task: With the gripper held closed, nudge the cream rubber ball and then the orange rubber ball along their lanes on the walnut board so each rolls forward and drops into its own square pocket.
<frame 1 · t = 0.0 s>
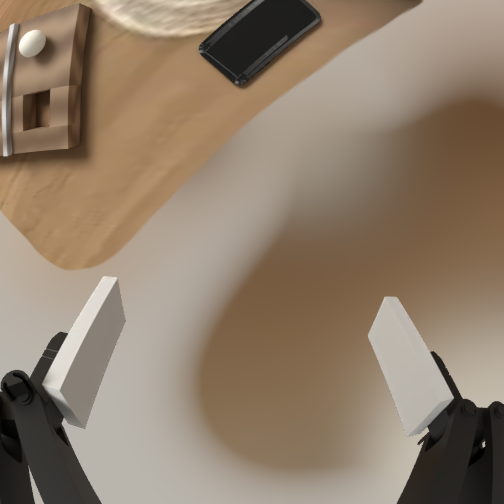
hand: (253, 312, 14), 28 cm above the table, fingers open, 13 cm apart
putting board: (23, 86, 29), on the table
phone: (260, 32, 30), on the table
cream ball: (32, 43, 22), point 5 cm above the table, touching putting board
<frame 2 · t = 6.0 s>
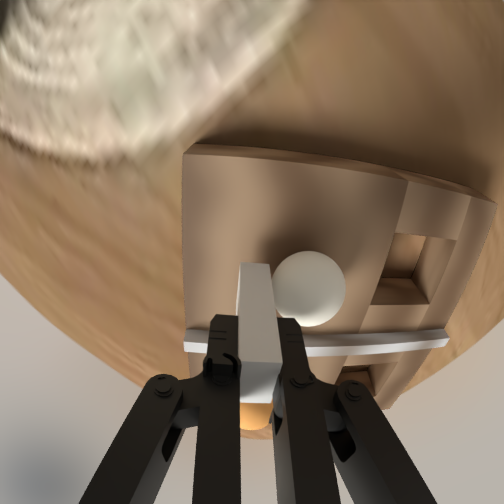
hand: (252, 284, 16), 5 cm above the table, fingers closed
putting board: (324, 308, 23), on the table
orange ball: (251, 406, 21), point 5 cm above the table, touching putting board
cream ball: (308, 288, 16), point 5 cm above the table, tilted 52°, touching putting board
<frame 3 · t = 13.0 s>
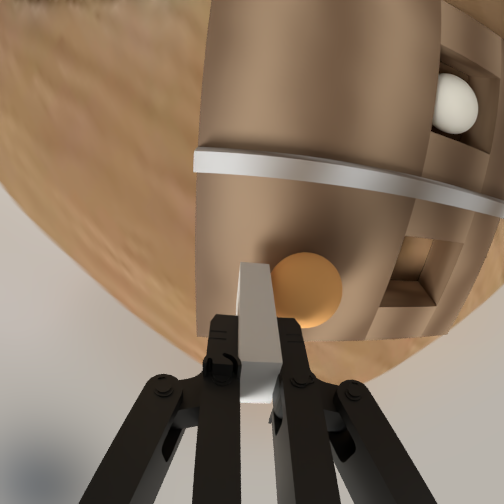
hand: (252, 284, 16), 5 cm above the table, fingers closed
putting board: (370, 165, 18), on the table
orange ball: (304, 290, 15), point 5 cm above the table, tilted 26°, touching putting board
cream ball: (449, 103, 13), point 2 cm above the table, tilted 27°
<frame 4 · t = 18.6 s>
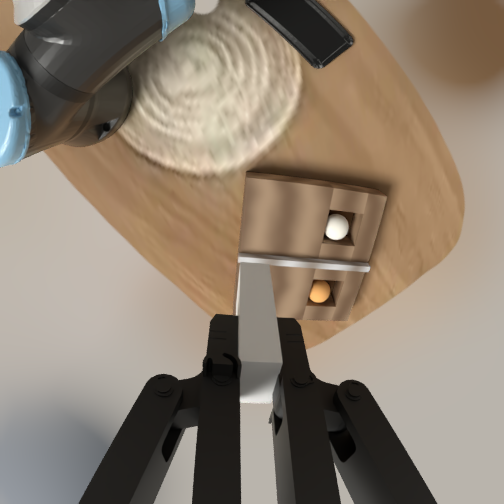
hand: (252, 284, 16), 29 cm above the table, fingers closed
putting board: (302, 250, 49), on the table
phone: (299, 20, 31), on the table
orange ball: (318, 290, 50), point 2 cm above the table, tilted 47°
cream ball: (335, 226, 44), point 2 cm above the table, tilted 29°
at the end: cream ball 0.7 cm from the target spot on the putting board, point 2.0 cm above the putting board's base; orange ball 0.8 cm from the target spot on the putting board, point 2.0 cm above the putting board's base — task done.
